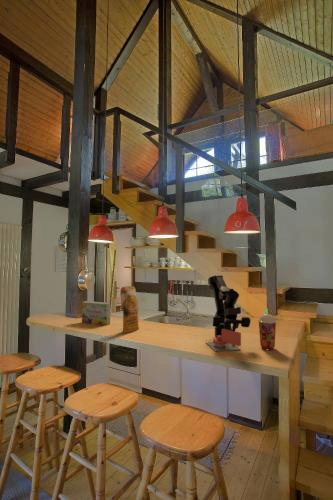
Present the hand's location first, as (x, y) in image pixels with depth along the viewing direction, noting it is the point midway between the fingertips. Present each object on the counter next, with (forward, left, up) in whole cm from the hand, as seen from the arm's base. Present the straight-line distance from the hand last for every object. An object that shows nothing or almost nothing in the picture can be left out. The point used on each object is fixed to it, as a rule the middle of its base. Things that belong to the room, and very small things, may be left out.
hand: (233, 336), depth 136 cm
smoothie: (-18, 0, -7) cm, 19 cm away
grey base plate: (+3, -6, -6) cm, 9 cm away
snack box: (+72, -73, -7) cm, 102 cm away
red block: (+3, -2, -4) cm, 5 cm away
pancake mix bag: (+49, -48, -7) cm, 69 cm away
